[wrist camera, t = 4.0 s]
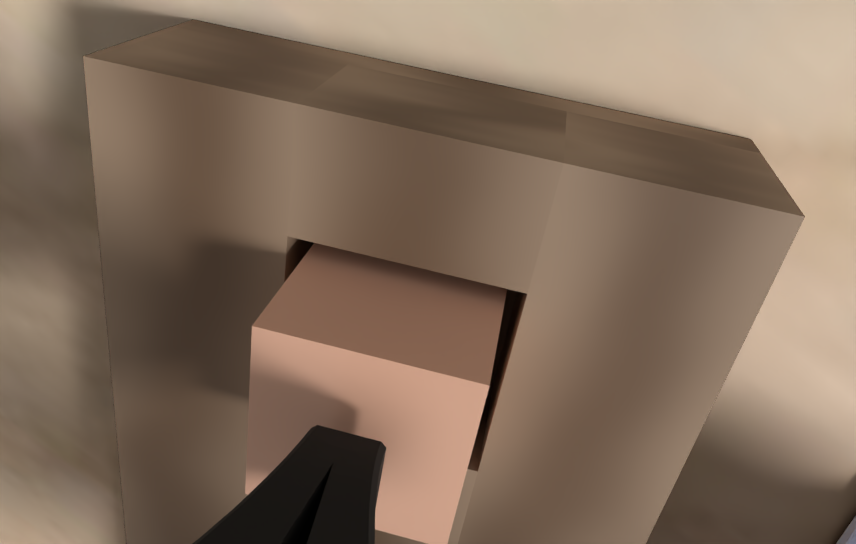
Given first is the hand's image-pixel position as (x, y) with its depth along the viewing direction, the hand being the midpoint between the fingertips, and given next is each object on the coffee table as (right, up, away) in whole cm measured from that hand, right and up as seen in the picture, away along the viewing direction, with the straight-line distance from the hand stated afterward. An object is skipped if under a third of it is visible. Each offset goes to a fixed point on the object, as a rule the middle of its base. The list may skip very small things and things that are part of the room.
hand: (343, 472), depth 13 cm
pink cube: (+1, +2, +4) cm, 4 cm away
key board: (0, -5, +12) cm, 13 cm away
